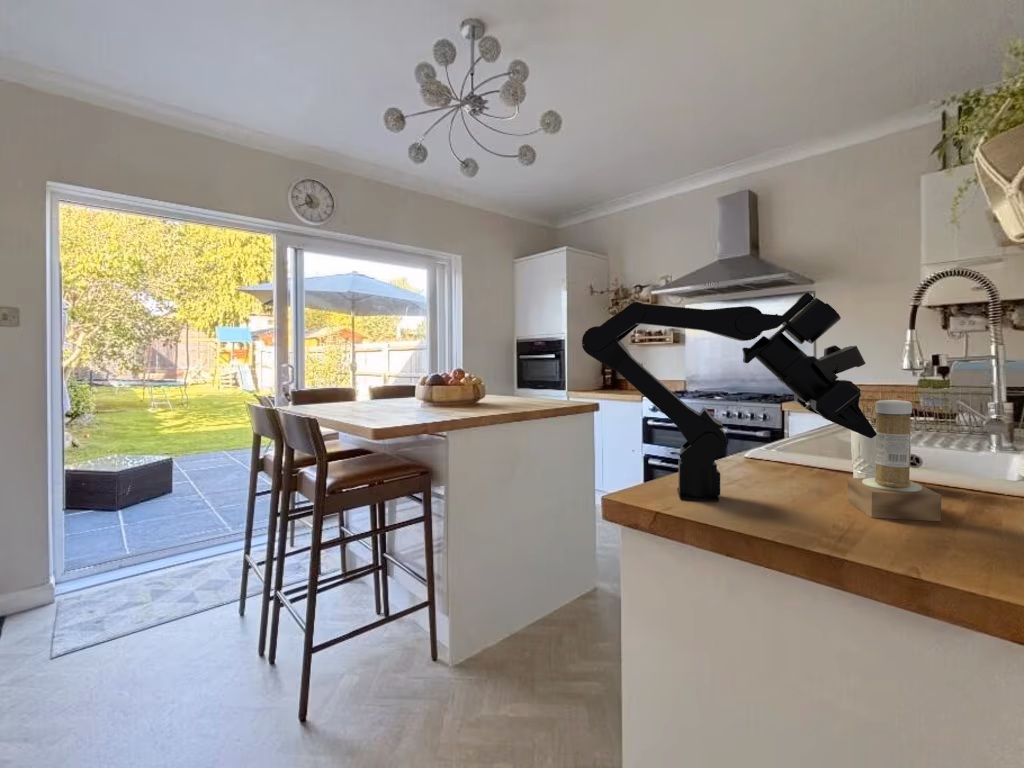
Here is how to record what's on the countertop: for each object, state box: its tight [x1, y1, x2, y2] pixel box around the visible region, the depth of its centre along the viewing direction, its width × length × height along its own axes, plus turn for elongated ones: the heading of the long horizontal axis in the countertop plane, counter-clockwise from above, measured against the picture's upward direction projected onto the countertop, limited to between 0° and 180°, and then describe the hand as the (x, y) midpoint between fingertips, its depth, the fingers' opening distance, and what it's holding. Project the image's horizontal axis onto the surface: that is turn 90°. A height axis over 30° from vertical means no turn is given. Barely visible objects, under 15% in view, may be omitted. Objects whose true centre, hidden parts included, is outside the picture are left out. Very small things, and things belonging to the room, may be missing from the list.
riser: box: [846, 477, 942, 522], centre depth 79 cm, size 9×9×4 cm
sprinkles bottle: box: [874, 399, 913, 488], centre depth 77 cm, size 5×5×13 cm
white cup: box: [850, 428, 876, 478], centre depth 95 cm, size 8×8×10 cm
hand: (864, 431), depth 79 cm, fingers open, 9 cm apart
